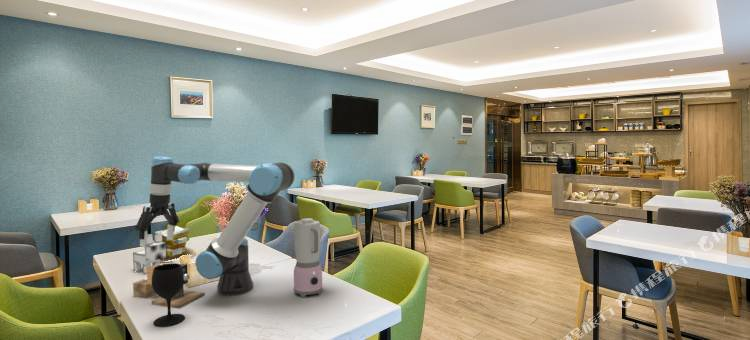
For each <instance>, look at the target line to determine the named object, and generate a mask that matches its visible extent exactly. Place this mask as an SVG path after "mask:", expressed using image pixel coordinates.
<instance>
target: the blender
mask: <svg viewBox="0 0 750 340" xmlns="http://www.w3.org/2000/svg"><path fill="white" fill-rule="evenodd" d="M293 226H294V227H293V244H294V245H293V246H294V252H295V253H294V254H295V258H296V263H295V266H294V268H293V292H294V293H295V294H297V295H300V297H301V298H306V297H307V295H314V294H317V295H318V294H319V295H321V294H322V291H323V269H322V266H321V265H322V264H320V263H321V262H320V261H319V260H320V253H321V245H322V244H321V243H322V241H321V239H322V238H321V236H322V235H321V223H320V221H319V220H314V219H313V218H312V217H311V218H301V219H300V220H299V221H296V222H294V224H293ZM320 293H321V294H320Z"/></svg>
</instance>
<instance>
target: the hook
mask: <svg viewBox="0 0 750 340" xmlns="http://www.w3.org/2000/svg"><path fill="white" fill-rule="evenodd" d="M157 266H159V265H153V266H152V265H151V266H150V267H147V275H146V278H147V279H146V280H147V284H151V285H152V274H153V270H154V268H155V267H157ZM190 277H191V276H190V274H184V280H185V281H186V280H188V281H189V279H190Z"/></svg>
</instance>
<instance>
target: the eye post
mask: <svg viewBox="0 0 750 340" xmlns="http://www.w3.org/2000/svg"><path fill="white" fill-rule="evenodd" d="M179 264H180V265H181V267H182V270H183V274H188V273H189V272H188V263H179ZM188 283H189V279H188V280H186V281H185V280H184V282H183V286H182V288H181V290H180V291H179V292H178V293H177V294H176V295H175V296H174V298H177V299H179V298H181V297H183V296H184V290H185V289H184V287H185V285H186V284H188Z"/></svg>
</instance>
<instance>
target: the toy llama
mask: <svg viewBox="0 0 750 340" xmlns="http://www.w3.org/2000/svg"><path fill="white" fill-rule="evenodd" d="M156 232H157V231H156ZM153 237H154V238H153ZM153 240H154V243H153ZM165 257H166V246H165V243H164V242H162V233H161V232H157V233H155V232H153V234H151V233H147V246H146V247H144V249H142V250H138V251H134V252H132V258H133V259H132V263H133V272H134V271H136V272H137V273H139V272H138V271H141V270H142V271H141V272H142V274H143V273H144V274H143V275H145V274H147V267H150V266H153V265H161V262H160V259H162V258H165ZM136 272H135V273H136Z"/></svg>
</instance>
